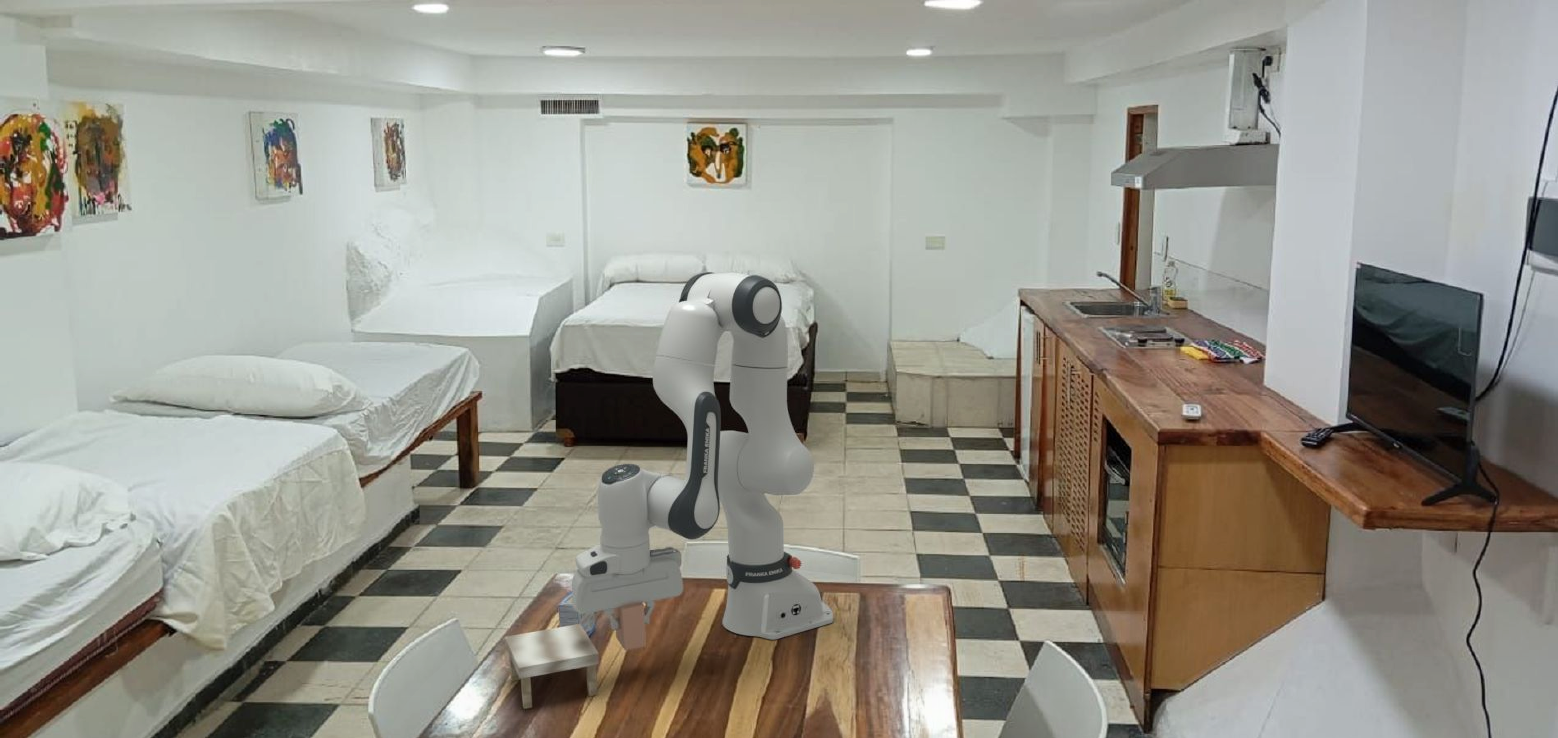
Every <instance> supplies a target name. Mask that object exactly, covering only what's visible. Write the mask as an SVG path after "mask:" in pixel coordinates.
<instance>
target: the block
mask: <svg viewBox="0 0 1558 738" xmlns="http://www.w3.org/2000/svg"><path fill="white" fill-rule="evenodd" d="M644 609H645V604H644V603H637V604H631V605H626V606H621V607H618V608H614V618H615V617H618V618H619V620H620V626H621V629H618V630H615V637H616V640H617V641H618V642H619V644H620V645H621V647H622V648H623V650H624V651H629V650H635V649H641V648H645V647H647V634H646V624H645V614H644Z"/></svg>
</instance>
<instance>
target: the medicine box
mask: <svg viewBox="0 0 1558 738" xmlns="http://www.w3.org/2000/svg"><path fill="white" fill-rule="evenodd" d="M557 606H558V607H557V608H558V623H559V624H558V625H559V627H565V626H571V625H576V624H581V626H582V627H583V629H584V631H585V632H586V634H587V635H588V637H589V638H590V637H591V635H592V634H593V633H594V632H595V630H596V623H595V622H596V621H595V619H596V618H595V612H591V613H586V614H579V613H578V612H577V611H576V610H575V609H574V607H573V605H572V590H571V591H570V592H569V593H568V594H567V595H566V596H565V597H564V598H563V599H562V600H561V601H560V602H559V603H558V604H557Z"/></svg>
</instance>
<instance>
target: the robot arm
mask: <svg viewBox="0 0 1558 738" xmlns="http://www.w3.org/2000/svg"><path fill="white" fill-rule="evenodd" d="M782 309H783V302H782V297H781V293H780V290H779V288H778V287H777V285H776V284H775V283H774V282H773V281H772V280H770V279H768V278H767V277H764V276H761V275H756V274H755V275H753V274H752V275H751V274H747V273H743V272H734V271H730V272H712V271H709V272H708V271H707V272H702V273H699V274H696V275H693V276H692V277H691V278H689V279H688V281H687V282H686V283H685V284H684V286H683V288H682V291H681V294H680V298H679V299H678V302H677V303H675V304H674V305H673V306H671V308H670V310H669V312H668V313H667V316H666V317H665V320H664V324H663V327H662V329H661V333H660V336H659V340H658V343H657V348H656V353H655V358H654V363H653V370H652V386H653V390H654V391H655V393H656V395H657V396H658V398H659V399H660V401H661V402H662V403H663V404H664V405H666V406H667V407H668V408H669V409H670V410H671V411H673V413H674V414H676V415H677V416H678V418H679V419H680V420H681V421H682V423H683V425H684V427H685V429H686V433H687V445H686V446H687V449H686V463H685V464H686V465H685V466H686V467H685V477H684V479H683V478H681V477H677V476H674V475H671V474H667V473H665V472H660V471H649V470H648V469H647V470H646V469H643V468H641V467H640V466H639V465H637V464H634V463H623V464H617V465H614V466H612V467H610V468H608V469H606V470H605V471H604V472H603V473H602V474H601V476H600V479H599V483H598V488H597V489H598V490H597V513H598V515H597V516H598V521H599V524H600V527H601V534H600V539H599V543H598V544H597V545H595V546H593V547H591V548H589V549H587V550H585V551H583V552H581V553H579V554H577V555H576V557H575V564H576V565H575V566H576V568H577V569H576V570H575V572H574V573H573V576H572V583H571V591H572V605H573V607H574V609H575V610H576V611H577V612H578V613H579V614H586V613H591V612H594V613H597V612H601V611H602V612H604V613H605V616H606V617H607V618H608V619H609V623H610V629H611V630H612V631H616V630H618V629H621V626H620V620H619V618H618V617H615V616H613V614H615V609H614V608H618V607H621V606H626V605H631V604H637V603H643V604H644V603H645V604H644V614H645V625H648V624H650V615H651V614H652V611H653V610H654V608H655V601H659V600H664V599H671V598H674V597H675V598H676V597H680V595H681V594H683V591H684V582H683V577H682V573H681V566H682V553H681V551H680V550H679V549H677V548H674V547H673V546H667V547H663V548H657V549H656V548H655V549H651V545H650V544H651V543H650V542H651V541H650V540H651V539H650V533H649V532H650V531H649V530H650V529H651V528H653V527H657V528H661V529H664V530H666V531H670V532H672V533H674V534H676V535H678V536H679V537H683V538H684V539H687V540H697V539H699V538H701V537H703V536H704V535H706V534H707V533H709V532H710V531H711V530H712V529H713V528H714V526H715V525H716V523H717V521H718V520H719V516H720V512H721V511H720V510H721V506H722V509H723V512H724V513H723V514H724V516H725V520H726V530H727V544H728V545H727V547H728V554H727V555H726V569H725V570H726V572H725V573H726V581H727V584H728V585H727V586H728V587H727V588H728V589H727V598H726V606H725V610H724V614H723V618H722V621H721V623H722V626H723V627H724V628H725V629H726V630H728V631H730V632H731V633H734V634H738V635H742V636H749V637H757V638H759V637H760V638H763V639H766V640H771V641H772V640H779V639H782V638H784V637H789V636H793V635H795V634H798V633H802V632H805V631H809V630H812V629H815V628H818V627H823V626H825V625H829V624H832V623H833V622H834V619H835V618H834V612H833V611H832V609H831V608H830V607H829V606H828V605H827V604H826V603H825V602H823V600H822V597H821V594H820V591H819V589H818V588H817V586H816V585H815V584H814V583H813V582H812V581H811V580H810V579H808V578H807V577H806V576H803V575H802V574H801V573H799V572H798V571H796V570H799V569H800V568H801V567H802V561H801V559H798V557H796V556H793V555H791V554H790V553H789V552H786V551H784V548H785V547H784V545H785V544H784V543H785V541H784V540H785V539H784V520H783V517H782V515H781V513H780V512H779V511H778V509H777V508H776V507H774V505H772V503H770V501H769V499H768V497H767V496H766V495H765V494H767V495H772V496H779V497H780V496H796V495H800V494H802V493H804V491H805V490H807V488H808V487H809V485H810V483H811V482H812V480H813V477H814V472H815V471H814V469H815V467H814V465H815V464H814V460H813V459H814V458H813V456H812V454H811V451H810V450H809V449H808V448H807V447H806V446H805V445H804V444H803V443H802V441H801V440H800V438H799V437H798V435H797V433H796V432H795V429H794V426H793V424H792V421H791V418H790V414H789V411H788V401H787V400H788V394H787V393H788V390H787V389H788V363H789V360H788V359H789V347H788V334H787V326H786V321H785V319H784V317H783V316H782V311H783V310H782ZM724 332H730V334H731V337H732V340H733V343H732V351H731V363H730V366H731V367H730V381H729V382H730V384H729V403H730V404H731V407H732V408H733V411H734V410H735V412H736V413H737V414H739V415H740V417H741V418H742V419H743V421H744V423H745V425H746V428H747V431H748V432H743V431H736V430H721V428H722V427H721V425H722V423H721V421H722V419H721V417H722V415H721V406H720V402H719V400H718V398H717V396H716V394H715V386H714V385H715V384H714V378H715V377H714V374H715V373H714V372H715V366H716V360H717V354H718V352H717V351H718V343H719V341H720V339H721V337H722V335H723V334H724Z"/></svg>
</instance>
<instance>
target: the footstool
mask: <svg viewBox="0 0 1558 738" xmlns="http://www.w3.org/2000/svg"><path fill="white" fill-rule="evenodd" d="M504 644H505V645H504V647H505V650H506V652H507V654H508V658H509V673H510V674H509V675H510V680H511V682H516V681H520V687H521V688H520V689H521V700H522V708H523V709H524V710H525V709H531V708H533V699H532V698H533V697H532V684H531V683H532V682H531V678H533V677H537V676H542V675H547V674H553V673H558V672H563V671H570V670H573V669H574V670H580V669H583V668H584V667H585V668H586V685H587V694H588V696H589V697H593V696H597V695H598V682H597V678H598V677H597V665H600V653H599V651H598V650H597V649H596V647H595V645H594V643H593V642H592V640H591V639H590V636H589V637H588V635H587V634H586V632H585V631H584V629H583V627H582V626H581V624H576V625H571V626H565V627H560V626H559V627H554V628H549V629H543V630H542V629H541V630H537V631H531V632H525V633H519V634H514V635H509V636H507V635H506V636H504Z"/></svg>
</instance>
